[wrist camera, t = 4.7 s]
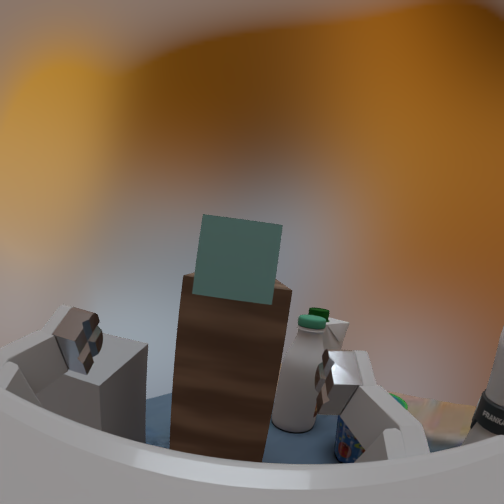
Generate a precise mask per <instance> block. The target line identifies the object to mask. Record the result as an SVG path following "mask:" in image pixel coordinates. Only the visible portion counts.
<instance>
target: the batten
mask: <svg viewBox="0 0 504 504" xmlns="http://www.w3.org/2000/svg"><path fill="white" fill-rule="evenodd" d="M281 233H282V225H279V224H271V223H265V222H257V221H250V220H243V219H235V218H228V217H220V216H212V215H205V214H203V218H202V225H201V232H200V238H199V246H198V252H197V260H196V267H195V275H194V283H193V291H192V294H197V295H204V296H210V297H217V298H224V299H231V300H238V301H246V302H253V303H261V304H269V305H272V299H273V292H274V285H275V278H276V271H277V264H278V256H279V249H280V241H281Z"/></svg>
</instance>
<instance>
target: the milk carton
mask: <svg viewBox="0 0 504 504" xmlns="http://www.w3.org/2000/svg"><path fill="white" fill-rule="evenodd" d="M308 315H315V316H320V317H323V318H325V319H326V327H325V332H323V336H322V339H323V347H324V351H325V350H326V349H335V350H341V347H342V343H343V340H344V337H345V334H346V331H347V329H348V326H349V322H345V321H341V320H337V319H333V318H329V310H326V309H321V308H310V309H309V314H308ZM298 319H299V316H298Z"/></svg>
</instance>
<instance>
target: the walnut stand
mask: <svg viewBox="0 0 504 504" xmlns="http://www.w3.org/2000/svg"><path fill="white" fill-rule="evenodd" d="M194 275H195V273H191V274H187V275H184V276H183V283H182V292H181V300H180V309H179V319H178V328H177V339H176V350H175V362H174V376H173V389H172V405H171V425H170V449H171V450H175V451H180V452H186V453H191V454H197V455H203V456H209V457H216V458H223V459H231V460H240V461H250V462H262V458H263V454H264V449H265V444H266V439H267V434H268V429H269V424H270V419H271V414H272V409H273V404H274V398H275V393H276V387H277V382H278V376H279V370H280V365H281V358H282V352H283V347H284V341H285V335H286V328H287V322H288V316H289V308H290V302H291V296H292V290H291V289H289V288H288V287H286V286H285V285H283V284H281V282H279V281H278V280H276V279H275V285H274V292H273V299H272V305H269V304H261V303H253V302H246V301H238V300H231V299H224V298H217V297H210V296H204V295H197V294H192V291H193V283H194Z"/></svg>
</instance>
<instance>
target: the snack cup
mask: <svg viewBox="0 0 504 504" xmlns="http://www.w3.org/2000/svg"><path fill="white" fill-rule="evenodd" d="M389 394H390V393H389ZM390 395H391V396H392V397H393V398H394V399H395V400H396V401H397V402H399V403H400V404H401V405H402V406H403V407H404V408H405V409H406V410H407V408H408V406H407V404H406V402H405V401H404V400H402V399H401V398H399V397H398V396H396V395H393V394H390ZM364 452H365V449H364V448H363V447H362V445H361V444H360V443H359V441H358V440H357V439H356V437H355V436H354V435H353V433H352V432H351V431H350V429H349V428H348V427H347V425H346V424H345V422H344V421H343V420H342V418H341V417H340V415H338V421H337V431H336V442H335V454H336V456H337V459H338V460H339V461H342V462H343V463H354V462H355V461H356V460H357V459H358V458H359V457H360V456H361V455H362V454H363V453H364Z"/></svg>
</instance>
